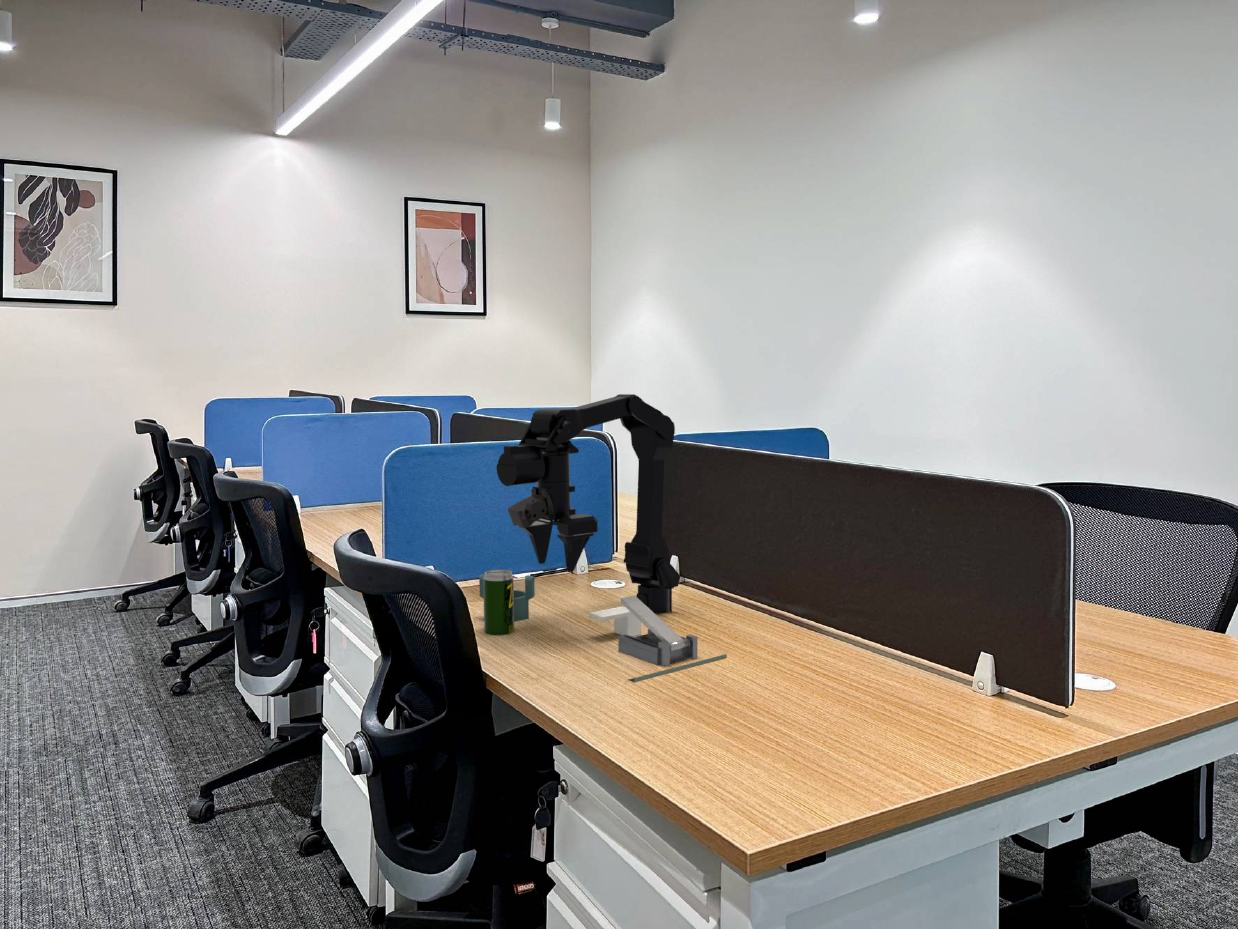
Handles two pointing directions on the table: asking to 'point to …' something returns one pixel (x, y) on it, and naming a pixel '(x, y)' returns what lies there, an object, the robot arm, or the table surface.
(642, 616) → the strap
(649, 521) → the robot arm
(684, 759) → the table surface
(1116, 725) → the table surface
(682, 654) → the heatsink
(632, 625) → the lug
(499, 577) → the beer can
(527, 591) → the bracket
